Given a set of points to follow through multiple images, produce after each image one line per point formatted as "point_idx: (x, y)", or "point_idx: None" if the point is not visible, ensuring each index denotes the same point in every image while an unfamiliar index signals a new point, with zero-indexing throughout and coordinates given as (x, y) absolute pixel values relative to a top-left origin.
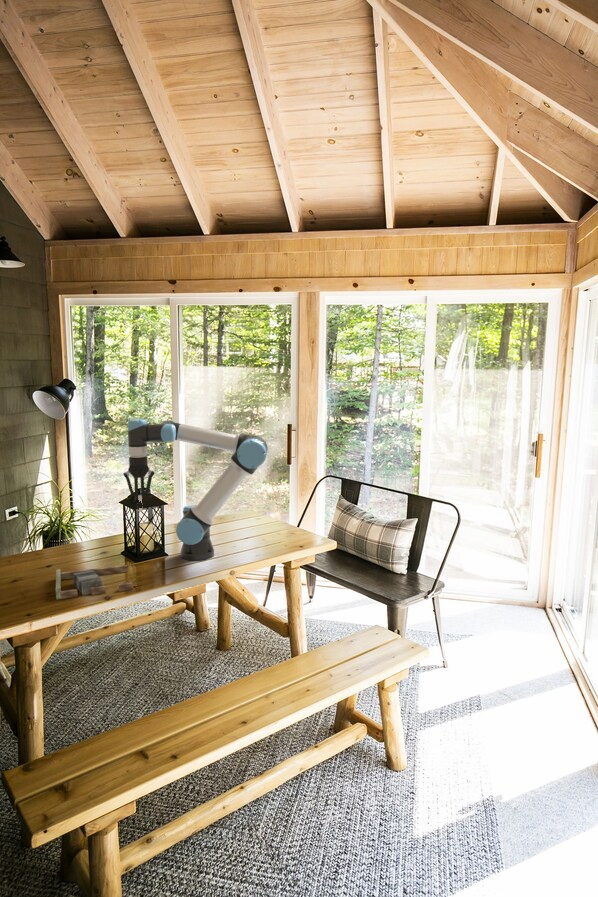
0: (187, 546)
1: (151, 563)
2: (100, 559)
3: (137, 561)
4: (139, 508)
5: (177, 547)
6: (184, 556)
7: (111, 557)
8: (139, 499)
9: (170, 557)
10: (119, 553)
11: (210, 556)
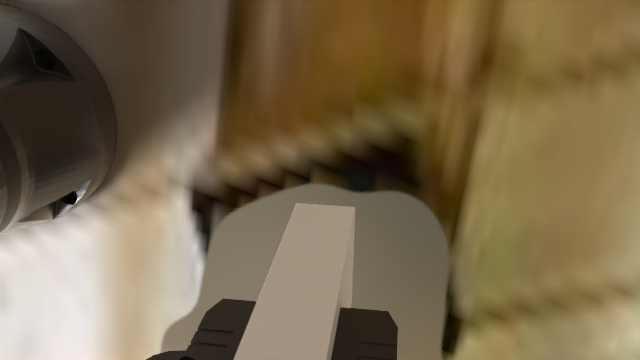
0: (25, 86)
1: (311, 74)
2: (607, 283)
3: (392, 151)
4: (338, 230)
5: (127, 303)
6: (86, 70)
7: (533, 291)
8: (305, 335)
9: (180, 143)
10: (470, 340)
11: None
